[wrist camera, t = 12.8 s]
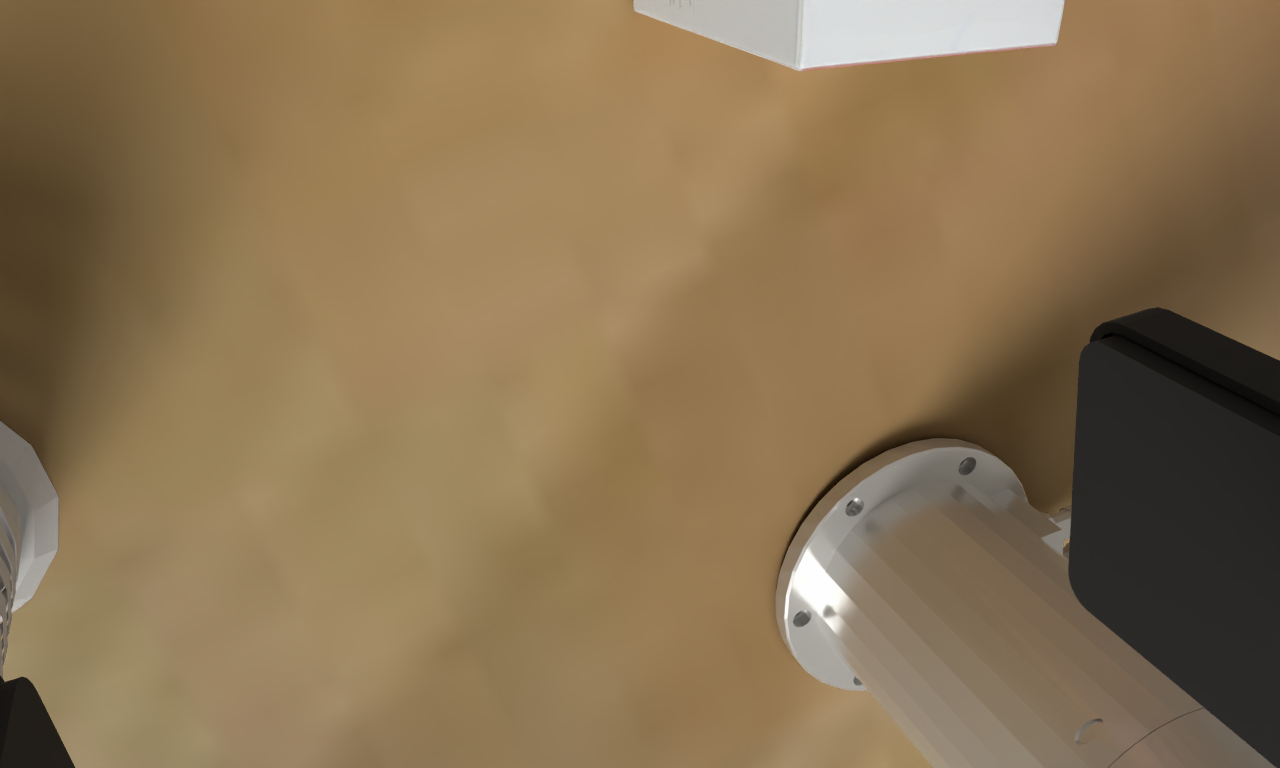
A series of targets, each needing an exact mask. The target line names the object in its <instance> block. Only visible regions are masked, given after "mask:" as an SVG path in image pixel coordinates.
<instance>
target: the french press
mask: <svg viewBox="0 0 1280 768" xmlns="http://www.w3.org/2000/svg"><path fill="white" fill-rule="evenodd" d="M58 507H59V496H58V494H57V492H56V490H55V488H54V487H53V485H52V483H51V481H50V479H49V477H48V475H47V473H46V472H45V470H44V468H43V466H42V464H41V462H40V460H39V458H38V457H37V455H36V453H35V451H34V449H33V447H32V445H31V444H29V443H28V442H27V441H25V440H24V439H23V438H22V437H20V436H19V435H18V434H16V433H15V432H14V431H13V430H11V429H10V428H9V427H7V426H6V425H5V424H4V423H2V422H1V421H0V622H2V621H3V622H2V623H1V624H0V676H1V677H2V678H3V664H4V662H5V657H6V652H7V647H8V641H7V636H8V633H9V629H10V625H11V620H12V613H13V612H14V611H15V610H17V609H18V608H19V607H21V606H22V605H23V604H24V603H26V602H27V601H28V600H29V599H31V598H32V597H33V595H34V593H35V591H36V589H37V587H38V586H39V584H40V582H41V580H42V578H43V576H44V575H45V573H46V571H47V569H48V567H49V565H50V563H51V562H52V560H53V558H54V556H55V554H56V552H57V550H58ZM7 620H8V625H7ZM2 633H3V639H2V641H1V636H2ZM3 647H4V653H3V656H2V649H3Z"/></svg>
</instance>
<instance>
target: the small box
mask: <svg viewBox="0 0 1280 768" xmlns="http://www.w3.org/2000/svg"><path fill="white" fill-rule="evenodd" d="M1064 1H1065V0H634V10H635V11H636V12H638V13H641V14H644V15H647V16H649V17H652V18H654V19H657V20H660V21H663V22H666V23H668V24H671V25H674V26H676V27H679V28H682V29H685V30H687V31H691V32H693V33H696V34H699V35H702V36H704V37H707V38H710V39H712V40H715V41H718V42H721V43H724V44H726V45H729V46H732V47H735V48H738V49H740V50H743V51H746V52H748V53H751V54H754V55H757V56H760V57H763V58H765V59H768V60H771V61H774V62H776V63H779V64H782V65H784V66H787V67H790V68H792V69H795V70H797V71H806V70H816V69H826V68H836V67H846V66H855V65H864V64H874V63H884V62H894V61H904V60H914V59H923V58H933V57H943V56H953V55H963V54H972V53H982V52H993V51H1003V50H1013V49H1021V48H1031V47H1041V46H1055V44H1056V43H1057V41H1058V35H1059V29H1060V24H1061V19H1062V13H1063V7H1064Z"/></svg>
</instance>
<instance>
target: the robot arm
mask: <svg viewBox="0 0 1280 768" xmlns="http://www.w3.org/2000/svg"><path fill="white" fill-rule="evenodd" d="M1068 538H1070V542H1069V543H1067V544H1066V546H1065V547H1063V543H1064V540H1065V539H1068ZM775 597H776V619H777V623H778V626H779V630H780V634H781V637H782V639H783V641H784V642H785V644H786V646H787V647H788V649H789V651H790V653H791V654H792V655H793V656H794V658H795V659H796V660H797V661H798V662H799V663H800V665H801V666H802V667H803V668H804V669H805V671H806V672H808V673H809V674H810V675H812V676H813V677H815V678H816V679H817V680H819V681H820V682H822V683H825V684H828V685H831V686H833V687H836V688H839V689H846V690H852V691H863V690H868V691H869V692H870V694H871V695H872V696H873V697H874V698H875V700H876V701H877V702H878V703H879V704H880V706H881V707H882V708H883V709H884V710H885V712H886V713H887V714H888V715H889V716H890V717H891V719H892V720H893V721H894V722H895V723H896V725H897V726H898V727H899V728H900V729H901V731H902V732H903V733H904V734H905V735H906V737H907V738H908V739H909V740H910V741H911V742H912V744H913V745H914V746H915V747H916V748H917V750H918V751H919V752H920V753H921V754H922V756H923V757H924V758H925V759H926V760H927V762H928V763H929V764H930V765H931V766H932V768H1280V361H1279V360H1277V359H1274V358H1272V357H1270V356H1268V355H1266V354H1263V353H1261V352H1259V351H1257V350H1255V349H1253V348H1250V347H1248V346H1246V345H1244V344H1242V343H1239V342H1237V341H1235V340H1233V339H1231V338H1228V337H1226V336H1224V335H1222V334H1220V333H1217V332H1215V331H1213V330H1211V329H1209V328H1207V327H1204V326H1202V325H1200V324H1198V323H1196V322H1193V321H1191V320H1189V319H1187V318H1185V317H1182V316H1180V315H1178V314H1176V313H1174V312H1172V311H1169V310H1166V309H1162V308H1152V309H1147V310H1144V311H1140V312H1137V313H1134V314H1131V315H1127V316H1124V317H1121V318H1118V319H1115V320H1111V321H1108V322H1105V323H1102V324H1101V325H1100V326H1098V327H1097V328H1096V329H1095V330H1094V332H1093V334H1092V336H1091V338H1090V343H1089V344H1088V345H1086V346H1085V347H1084V349H1083V351H1082V352H1081V356H1080V361H1079V378H1078V397H1077V415H1076V434H1075V452H1074V471H1073V490H1072V505H1070V506H1067V507H1065V508H1062V509H1060V510H1059V512H1056V513H1053V514H1051V515H1049V514H1047V513H1045V512H1039V511H1038V510H1036V509H1035V508H1034V507H1032V506H1031V505H1030V504H1029V502H1028V500H1027V497H1026V494H1025V491H1024V488H1023V485H1022V483H1021V482H1020V481H1019V479H1018V478H1017V476H1016V475H1015V473H1014V472H1013V470H1012V469H1011V468H1010V467H1008V466H1007V465H1006V464H1005V463H1003V462H1002V461H1001V460H1000V459H998V458H997V457H996V456H995V455H994V454H992V453H990V452H989V451H987V450H985V449H984V448H982V447H980V446H979V445H977V444H973V443H970V442H966V441H963V440H959V439H945V438H933V439H927V440H921V441H915V442H910V443H908V444H905V445H902V446H899V447H896V448H893V449H891V450H888V451H886V452H884V453H882V454H880V455H878V456H876V457H875V458H873V459H871V460H869V461H867V462H865V463H864V464H862V465H861V466H859V467H858V468H857V469H855V470H854V471H853V472H851V473H850V474H849V475H847V476H846V477H845V478H843V479H842V480H841V481H839V482H838V483H837V484H836V485H835V486H834V487H833V488H832V489H831V490H830V491H829V492H828V493H827V494H826V495H825V496H824V497H823V498H822V499H821V500H820V501H819V502H818V504H817V505H816V506H815V508H814V509H813V510H812V511H811V513H810V514H809V515H808V517H807V518H806V519H805V521H804V522H803V523H802V525H801V526H800V528H799V530H798V532H797V534H796V535H795V537H794V539H793V541H792V543H791V544H790V546H789V548H788V551H787V553H786V556H785V559H784V562H783V564H782V567H781V570H780V573H779V579H778V584H777V590H776V596H775ZM0 768H75V766H74V764H73V762H72V760H71V758H70V756H69V754H68V752H67V750H66V748H65V746H64V744H63V742H62V740H61V738H60V736H59V734H58V732H57V730H56V728H55V726H54V724H53V722H52V720H51V718H50V716H49V714H48V712H47V710H46V708H45V706H44V704H43V702H42V700H41V698H40V696H39V694H38V692H37V690H36V689H35V687H34V685H33V684H32V683H31V682H30V681H29V680H28V679H27V678H25V677H20V678H17V679H14V680H10V681H7V682H4V680H3V678H2V677H1V676H0Z"/></svg>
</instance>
